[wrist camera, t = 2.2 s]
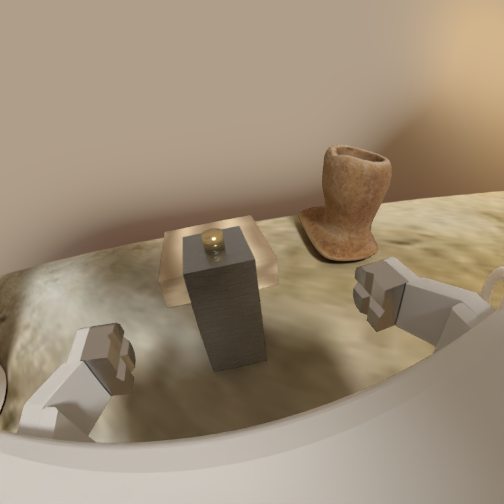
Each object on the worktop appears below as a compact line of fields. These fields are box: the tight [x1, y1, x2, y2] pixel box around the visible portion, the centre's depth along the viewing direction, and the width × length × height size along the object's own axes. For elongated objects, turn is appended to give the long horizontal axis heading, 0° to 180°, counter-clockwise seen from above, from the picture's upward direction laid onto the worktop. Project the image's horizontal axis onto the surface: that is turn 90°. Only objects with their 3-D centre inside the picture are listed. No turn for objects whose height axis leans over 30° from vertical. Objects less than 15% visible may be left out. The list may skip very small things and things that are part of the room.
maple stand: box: [158, 215, 279, 308], centre depth 38 cm, size 14×14×4 cm
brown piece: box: [299, 145, 392, 261], centre depth 39 cm, size 15×12×15 cm
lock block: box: [183, 226, 267, 372], centre depth 24 cm, size 5×6×12 cm
